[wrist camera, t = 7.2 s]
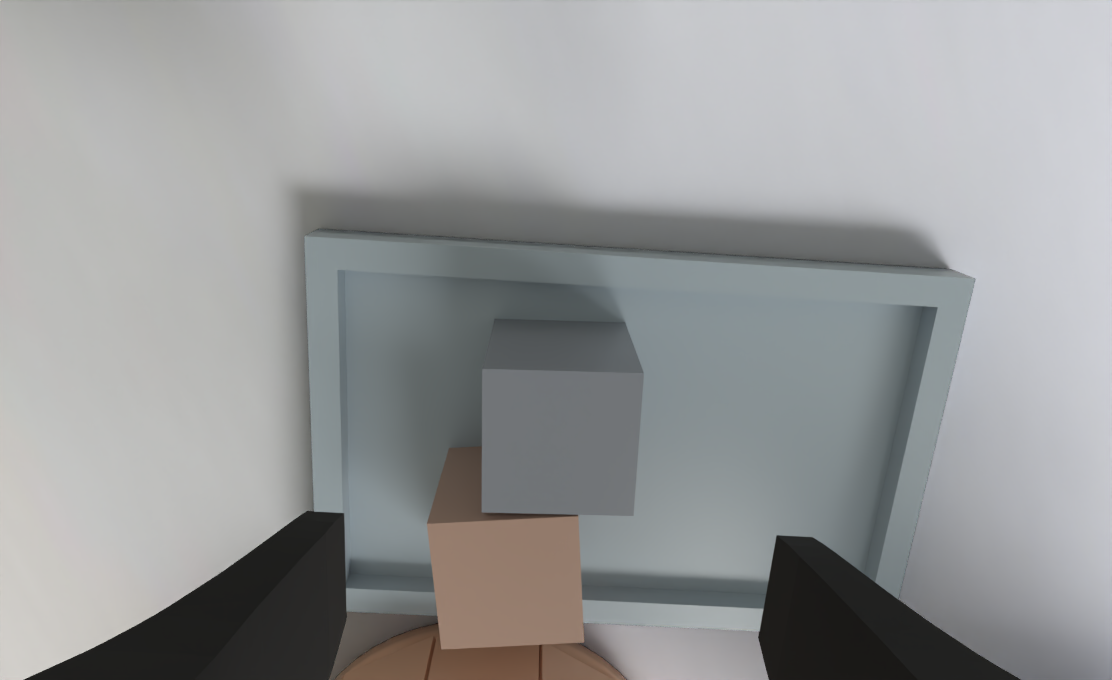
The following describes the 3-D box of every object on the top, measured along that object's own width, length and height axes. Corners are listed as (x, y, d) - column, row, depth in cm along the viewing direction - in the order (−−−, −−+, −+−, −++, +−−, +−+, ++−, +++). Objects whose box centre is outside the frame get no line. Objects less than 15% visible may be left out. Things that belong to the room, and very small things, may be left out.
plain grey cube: (625, 322, 20) (643, 373, 16) (617, 441, 21) (633, 516, 17) (495, 318, 20) (482, 368, 16) (493, 438, 21) (481, 512, 17)
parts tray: (950, 269, 20) (975, 278, 19) (872, 611, 23) (889, 637, 22) (318, 228, 19) (304, 236, 18) (328, 585, 23) (317, 610, 22)
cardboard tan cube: (572, 441, 21) (578, 516, 17) (577, 549, 22) (584, 642, 18) (448, 447, 21) (426, 523, 17) (459, 555, 22) (441, 649, 18)
